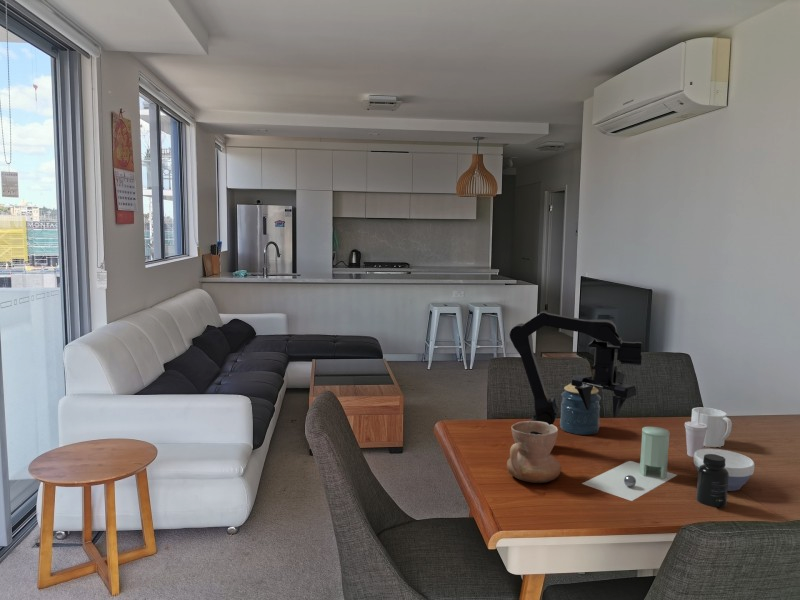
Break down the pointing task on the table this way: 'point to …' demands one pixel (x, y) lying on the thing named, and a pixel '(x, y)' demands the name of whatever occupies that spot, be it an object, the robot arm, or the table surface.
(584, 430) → the canister
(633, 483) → the steel ball
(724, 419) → the mug
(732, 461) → the bowl
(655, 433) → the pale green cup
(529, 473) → the ceramic jug
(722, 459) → the supplement bottle
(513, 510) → the table surface
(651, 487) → the off-white mat
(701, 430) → the smoothie
